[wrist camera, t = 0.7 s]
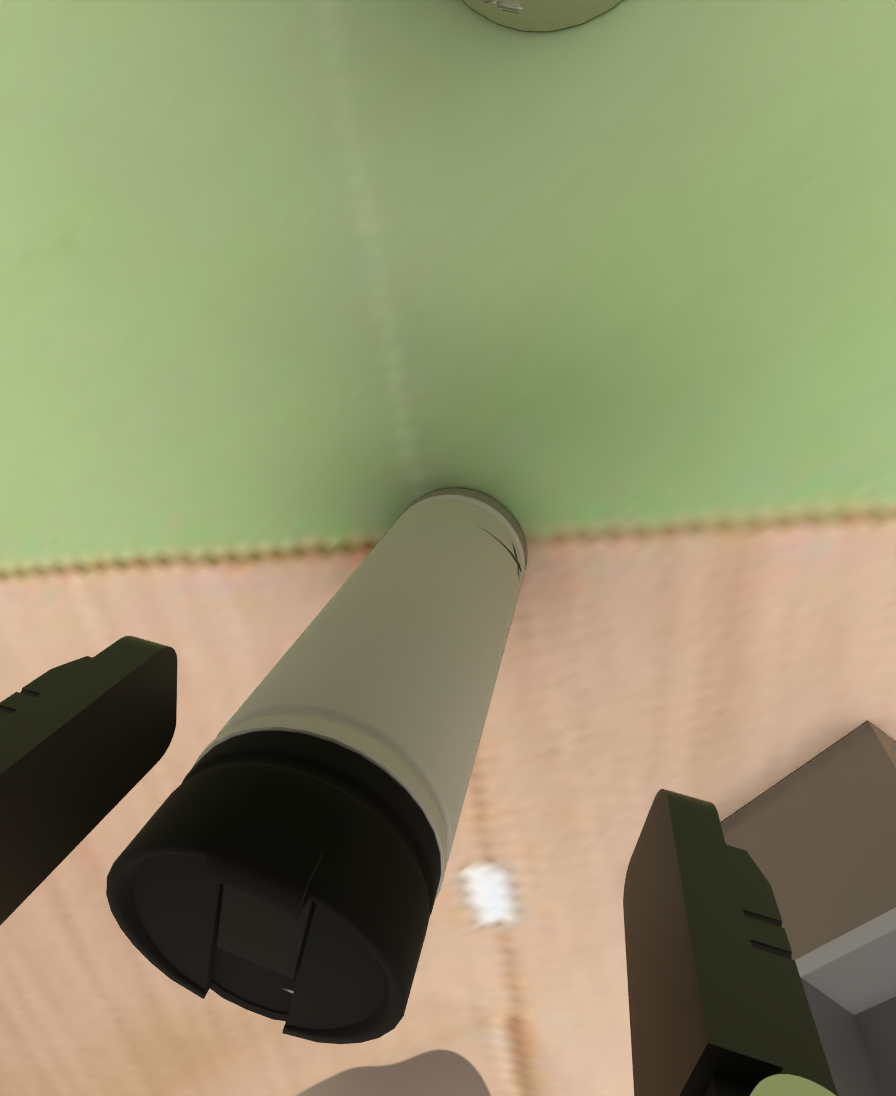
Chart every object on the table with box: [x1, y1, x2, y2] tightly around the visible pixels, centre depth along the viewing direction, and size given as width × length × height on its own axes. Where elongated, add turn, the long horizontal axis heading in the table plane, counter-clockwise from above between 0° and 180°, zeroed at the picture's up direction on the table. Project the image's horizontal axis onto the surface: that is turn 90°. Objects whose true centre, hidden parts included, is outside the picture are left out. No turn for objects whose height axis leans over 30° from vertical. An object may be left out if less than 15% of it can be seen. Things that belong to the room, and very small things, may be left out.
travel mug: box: [106, 488, 527, 1044], centre depth 20 cm, size 6×7×20 cm
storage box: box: [720, 721, 896, 1096], centre depth 28 cm, size 14×14×8 cm
